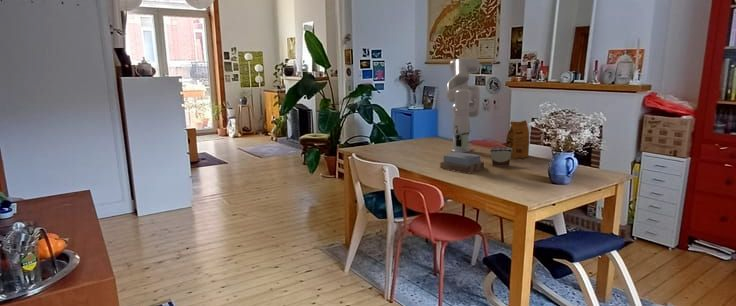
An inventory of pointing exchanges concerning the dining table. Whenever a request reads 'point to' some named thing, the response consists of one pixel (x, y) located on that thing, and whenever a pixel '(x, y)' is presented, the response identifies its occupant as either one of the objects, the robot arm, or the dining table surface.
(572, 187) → the dining table surface
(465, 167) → the base block
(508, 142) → the coffee package
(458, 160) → the top block
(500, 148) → the food container
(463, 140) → the sage block
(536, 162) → the dining table surface
